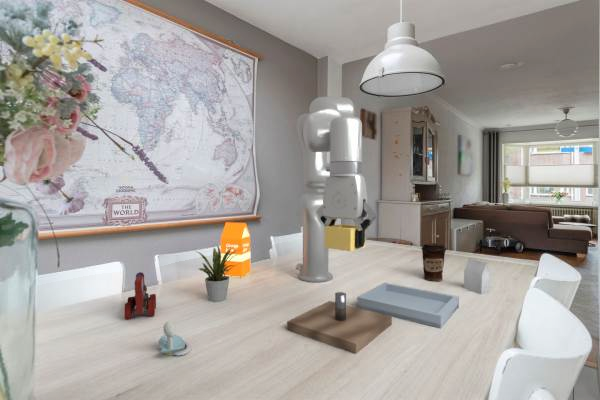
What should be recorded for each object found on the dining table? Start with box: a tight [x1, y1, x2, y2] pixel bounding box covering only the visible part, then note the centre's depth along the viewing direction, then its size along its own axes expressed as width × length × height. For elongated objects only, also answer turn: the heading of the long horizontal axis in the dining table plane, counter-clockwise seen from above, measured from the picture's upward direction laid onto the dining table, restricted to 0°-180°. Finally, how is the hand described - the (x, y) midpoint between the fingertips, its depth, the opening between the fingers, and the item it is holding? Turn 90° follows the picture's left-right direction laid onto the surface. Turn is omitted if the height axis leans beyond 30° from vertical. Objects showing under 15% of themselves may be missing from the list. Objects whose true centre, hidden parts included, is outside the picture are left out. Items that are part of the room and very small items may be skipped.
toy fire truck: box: [123, 271, 157, 320], centre depth 87 cm, size 7×12×10 cm, turn 21°
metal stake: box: [334, 291, 347, 321], centre depth 78 cm, size 3×3×6 cm
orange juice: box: [220, 221, 251, 278], centre depth 126 cm, size 8×9×20 cm
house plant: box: [195, 244, 243, 303], centre depth 97 cm, size 14×14×16 cm
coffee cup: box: [421, 242, 447, 282], centre depth 120 cm, size 9×8×13 cm
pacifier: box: [158, 321, 192, 357], centre depth 67 cm, size 7×6×6 cm
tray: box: [356, 282, 460, 329], centre depth 91 cm, size 22×18×3 cm
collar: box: [325, 223, 366, 252], centre depth 78 cm, size 7×7×5 cm
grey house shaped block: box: [463, 257, 491, 295], centre depth 107 cm, size 4×7×10 cm, turn 20°
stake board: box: [286, 300, 393, 354], centre depth 78 cm, size 18×18×2 cm
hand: (345, 244), depth 78 cm, fingers closed on collar, 7 cm apart
